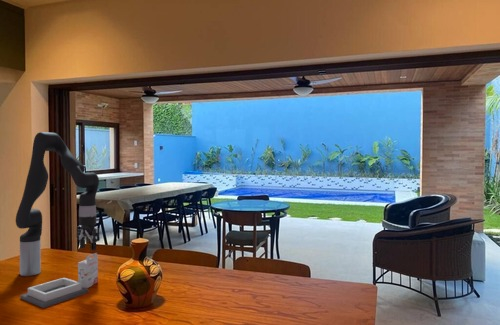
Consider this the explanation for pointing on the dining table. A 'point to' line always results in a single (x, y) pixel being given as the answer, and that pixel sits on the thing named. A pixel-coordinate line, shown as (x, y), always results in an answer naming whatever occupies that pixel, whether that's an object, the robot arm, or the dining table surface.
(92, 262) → the ink cartridge box
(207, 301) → the dining table surface
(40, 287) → the cartridge holder
